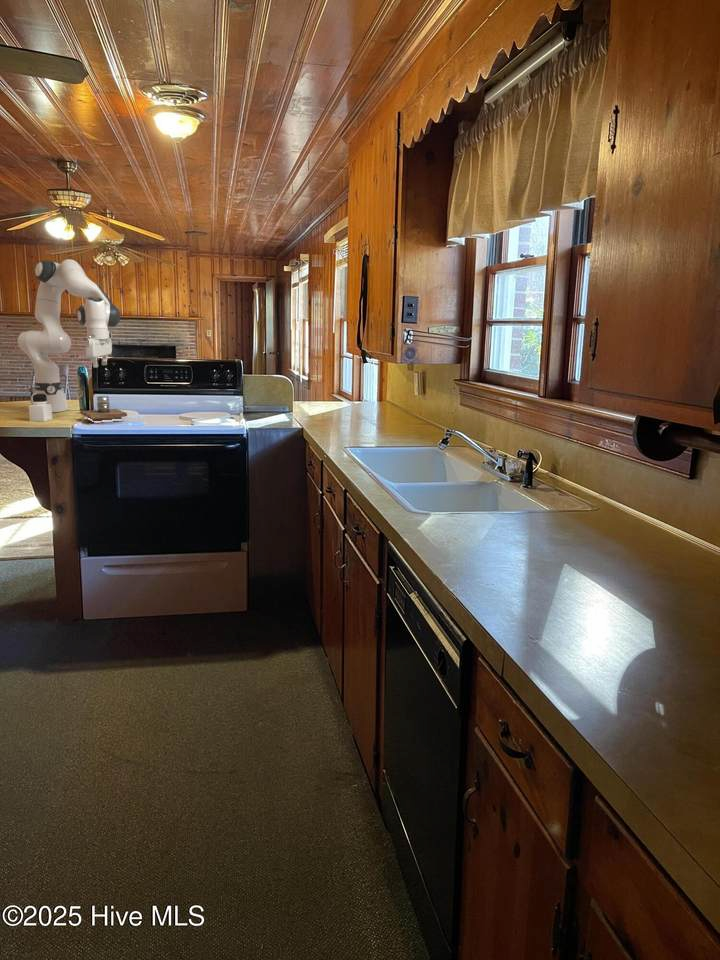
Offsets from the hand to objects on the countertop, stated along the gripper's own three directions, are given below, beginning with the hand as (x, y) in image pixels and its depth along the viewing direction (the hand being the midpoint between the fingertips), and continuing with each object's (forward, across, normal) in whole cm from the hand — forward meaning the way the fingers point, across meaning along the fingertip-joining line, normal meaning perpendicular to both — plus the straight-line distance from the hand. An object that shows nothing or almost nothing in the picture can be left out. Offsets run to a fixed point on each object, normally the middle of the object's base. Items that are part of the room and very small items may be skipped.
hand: (100, 366), depth 316 cm
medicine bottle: (+25, -3, +28) cm, 38 cm away
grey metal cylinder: (+21, 0, 0) cm, 21 cm away
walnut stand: (+25, 0, 0) cm, 25 cm away
